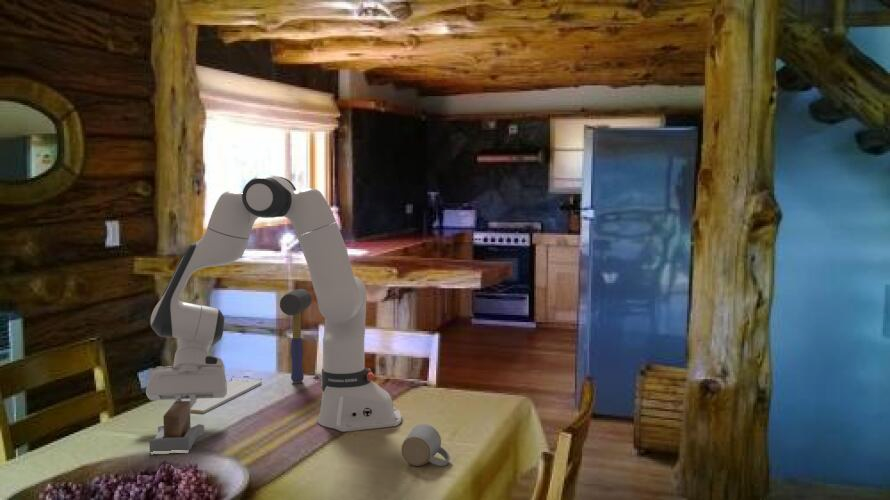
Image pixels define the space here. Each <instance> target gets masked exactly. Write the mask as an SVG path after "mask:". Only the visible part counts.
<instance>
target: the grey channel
mask: <svg viewBox="0 0 890 500" xmlns="http://www.w3.org/2000/svg"><path fill="white" fill-rule="evenodd" d="M202 436H205V425H204V424H199V423H198V424H196V425H194V426H192V427H191V428H190V429H189V430H188V431H187V433H186V434H185V436H184V437H176V438H164V425H161V426H157V434H156V436H155V437H154V438H150V439H149V453H150V452H153V451H171V450H189V449H190V450H191V449H192V447H193V446H192V445H195V444H194V443H195V442H196V440H197V439H198V438H201V437H202Z"/></svg>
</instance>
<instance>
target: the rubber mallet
mask: <svg viewBox="0 0 890 500" xmlns="http://www.w3.org/2000/svg"><path fill="white" fill-rule="evenodd" d="M312 300H313V298H312V295H311V293H310V292H309V291H308V290H306V289H304V288H299V289H294V290H291V291H289V292H287V293H286V294H284V295H283V296H282V297H281V298H280V301H279V307H280V308H279V309H280V311H281V312H282V313H283V314H286V315H287V316H292V338H291V342H290V345H291V346H290V357H291V374H290V375H291V376H290V380H291V381H292V382H293V383H294V384H301V383H302V382H303V380H304V379H305V376H304V373H303V357H304V350H303V349H304V348H303V346H304V345H303V340H302V332H301V331H302V328H301V326H302V325H301V313H302V312H305V311H306V310H308V308H309V307H310V306H311V304H312Z"/></svg>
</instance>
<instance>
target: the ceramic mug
mask: <svg viewBox="0 0 890 500" xmlns="http://www.w3.org/2000/svg"><path fill="white" fill-rule="evenodd" d="M441 445H442V439H441V436H440V434H439V431H438V430H437V429H436V428H435V427H433V426H432V425H430V424H428V423H427V424H426V423H424V424H423V423H422V424H418V425H417V424H416V426H414V427H413V428H412V430H411V431H410V433H408V434H407V436H406V437H405V439H404V441H403V443H402V444H401V455H402V458H403V459H404V461H405V462H406V463H407V464H409V465H411V466H414V467H421V466H424V465H426V464H428V463H431V464H432V465H435V466H439V467H446V466H447V465H448V463H449V461H450V459H451V455H450V453H449V452H448V451H447V450H446V449H445V448H443V447H442V446H441ZM437 453H438V454H439V455H441V457H443V458H444V459H445V460H443V459H439V458H437V457H434V456H435V455H436V454H437Z"/></svg>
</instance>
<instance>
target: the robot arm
mask: <svg viewBox="0 0 890 500" xmlns="http://www.w3.org/2000/svg"><path fill="white" fill-rule="evenodd" d="M283 217H284V218H286V219H288V220H289V222H290V224H291V226H292V228H293V230H294V232H295V235H296V238H297V241H298V243H299V246H300V248H301V251H302V253H303V256H304V259H305V261H306V264H307V268H308V271H309V276H310V280H311V284H312V287H313V292H314V295H315V297H316V302H317V306H318V310H319V313H320V314H321V316H322V317H323V318H325V320H324V329H323V335H322V336H323V337H322V369H321V374H320V386H321V391H322V395H321V402H320V403H321V404H320V410H319V413H318V414H319V415H318V418H317V424H319V425H321V426H323V427H326V428H330V429H335V430H337V431H339V432H343V433H344V432H353V431H354V432H355V431H361V430H363V431H364V430H372V429H380V428H389V427H390V428H391V427H397V426H399V425H400V424H401V423H402V413H401V412H400V410H399V409H397V408H395V407H394V403H393V400H392V397H391V395H390V394H389V392H388V391H386V390H385V389H384V388H382V387H381V386H379V385H378V384H376V382H374V380H375V374H374V373H373V370H371V368H370V367H369V368H368V367H366V366H365V365H366V364H365V337H366V336H365V334H366V317H367V288H366V285H365V284H364V282H363V280H361V279H360V277H358V276H355V274H354V273H353V269H352V265H351V262H350V261H351V260H350V258H349V253H348V248H347V246H346V244H345V241H344V238H343V235H342V233H341V230H340V227H339V224H338V223H337V220H336V218H335V215H334V213H333V211H332V209H331V207H330V205H329V204H328V202H327V200H326V198H325V196H324V195H323V194H322V192H321V191H320V190H318V189H317V188H311V187H309V188H303V189H300V190H299V189H298V190H297V188H296V186H295V185H294V184H293V182H292V181H290V180H289V179H287V178H285V177H282V176H277V175H273V174H268V175H259V176H255V177H254V178H251V179H250V180H248V182H247V183H246V184H245V185H244V187H243V190H242V191H239V190H228V191H225V192H223V193H222V194H221V195H219V198H218V199H217V201H216V203H215V205H214V207H213V210H212V212H211V215H210V218H209V221H208V224H207V227H206V230H205V232H204V234H203V235H202V236H201V238H200V239H199V240H198V241H195V242H192V243H190V244H189V245H188V246H187V248H186V249H185V251H184V252H183V254H182V256H181V257H180V259H179V261H178V263H177V266H176V268H175V269H174V271H173V273H172V275H171V277H170V280H169V281H168V283H167V285H166V288H165V290H164V292H163V294H162V295H161V297H160V299H159V300H158V302H157V304H156V305H155V307H154V308H153V309H152V310H153V311H151V312H152V313H151V316H150V327H151V329H152V330H153V331H154V332H155V334H156V335H157V336H159V337H163V338H176V339H177V349H176V351H175V355H174V360H173V365H167V366H161V365H160V366H156V367H155V368H152V369H151V370H150V371H149V372H148V382H147V384H146V389H145V394H146V396H147V399H149V400H150V401H168V400H171V401H172V400H175V401H183V400H189V401H190V413H191V408H192V406H193V405H194V404H195V403H196V401H197V399H200V398H223V397H225V396H226V395H227V383H228V379H227V375H226V373H225V372H226V369H225V365H224V360H223V359H222V358H221V357H217V356H214V355H210V354H209V350H210V348H211V347H214V345H216V344H217V343H218V342H220V341H221V339H222V338H223V336H224V335H223V333H224V327H225V326H224V325H225V316H224V315H223V313H222V311H221V310H220V309H219V308H217V307H211V306H208V305H202V304H196V303H190V302H185V301H181V300H180V298H181V296H182V294H183V292H184V290H185V288H186V286H187V284H188V282H189V279H190V277H191V276H192V275H193V274H194V273H195V272H197V271H198V270H202V269H206V268H212V267H219V266H226V265H229V264H233V263H235V262H236V261H237V260H239V259H240V258H242V256H243V255H244V253H245V251H246V248H247V246H248V242H249V239H250V236H251V233H252V229H253V226H254V224H255V222H256V220H257V219H259V218H262V219H263V218H264V219H265V218H266V219H267V218H269V219H274V218H283ZM175 401H174V402H175Z"/></svg>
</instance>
